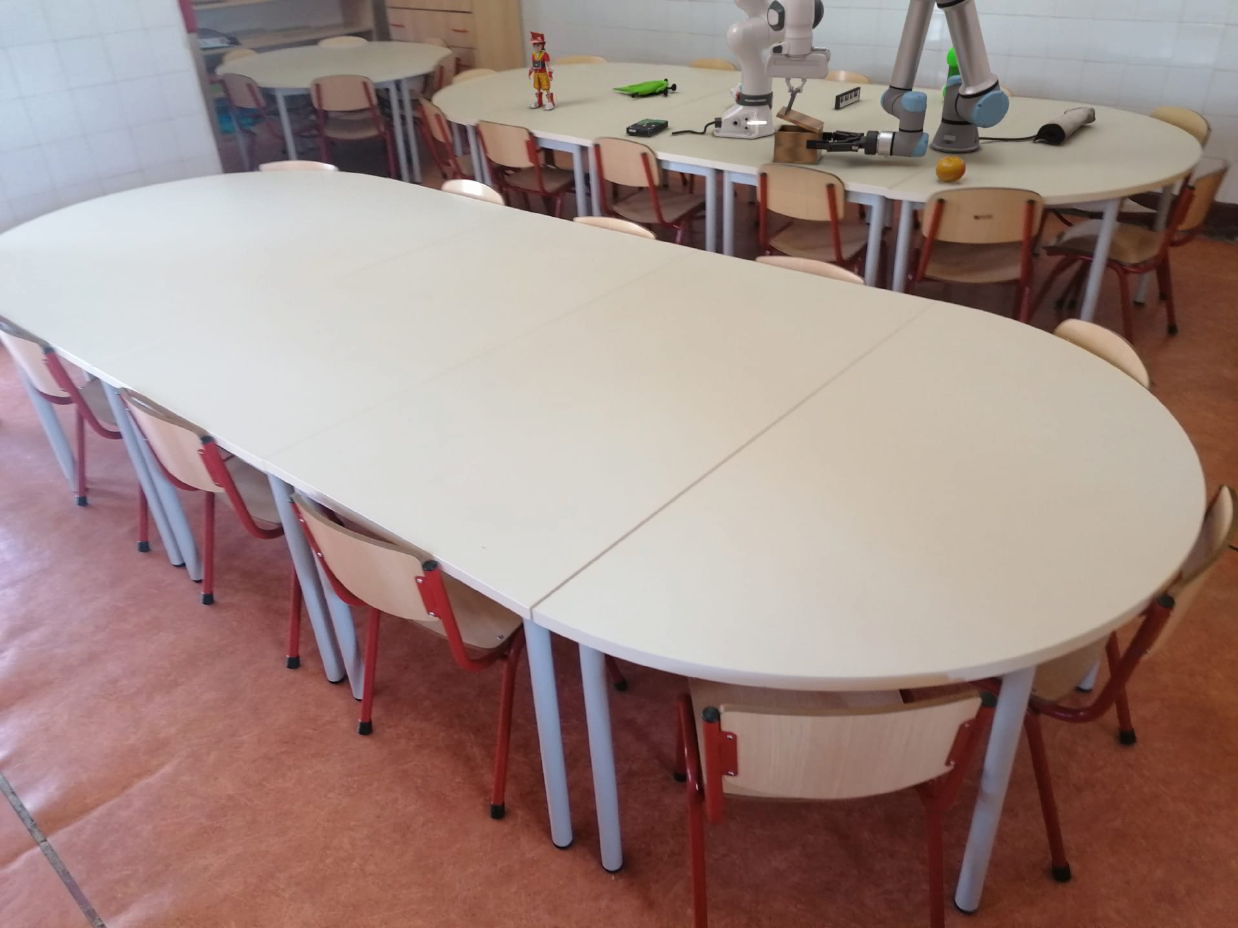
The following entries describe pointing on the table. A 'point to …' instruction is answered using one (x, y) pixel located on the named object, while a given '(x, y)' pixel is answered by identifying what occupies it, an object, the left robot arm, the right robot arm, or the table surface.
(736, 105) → the left robot arm
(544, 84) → the toy
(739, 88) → the anatomical model
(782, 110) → the lid
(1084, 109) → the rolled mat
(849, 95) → the midi keyboard
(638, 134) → the disk drive
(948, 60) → the plastic bottle
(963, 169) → the fruit
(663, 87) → the toy
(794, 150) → the chest
